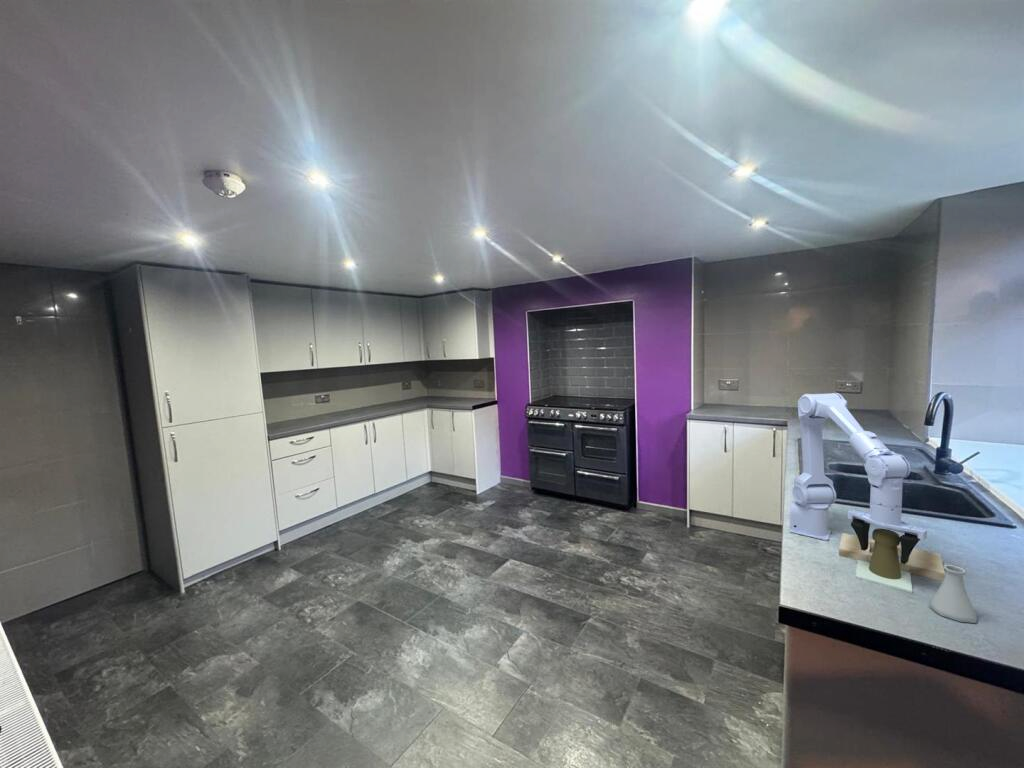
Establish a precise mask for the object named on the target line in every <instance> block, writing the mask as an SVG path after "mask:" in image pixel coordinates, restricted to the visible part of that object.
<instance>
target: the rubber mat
mask: <svg viewBox="0 0 1024 768" xmlns="http://www.w3.org/2000/svg"><path fill="white" fill-rule="evenodd" d="M869 566H870V563H869V562H864V561H860V560H857V563H856V571H855V579H859V580H862V581H865V582H869V583H873V584H877V585H881V586H883V587H884V586H885V587H888V588H891V589H896V590H899V591H903V592H906V593H910V594H913V586H912V577H911V573H909V572H905V571H901V570H900V571H901V578H900V579H887V578H884V577H880V576H878V575H876V574H874V573H872V572H871V571H870V570H869Z"/></svg>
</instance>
